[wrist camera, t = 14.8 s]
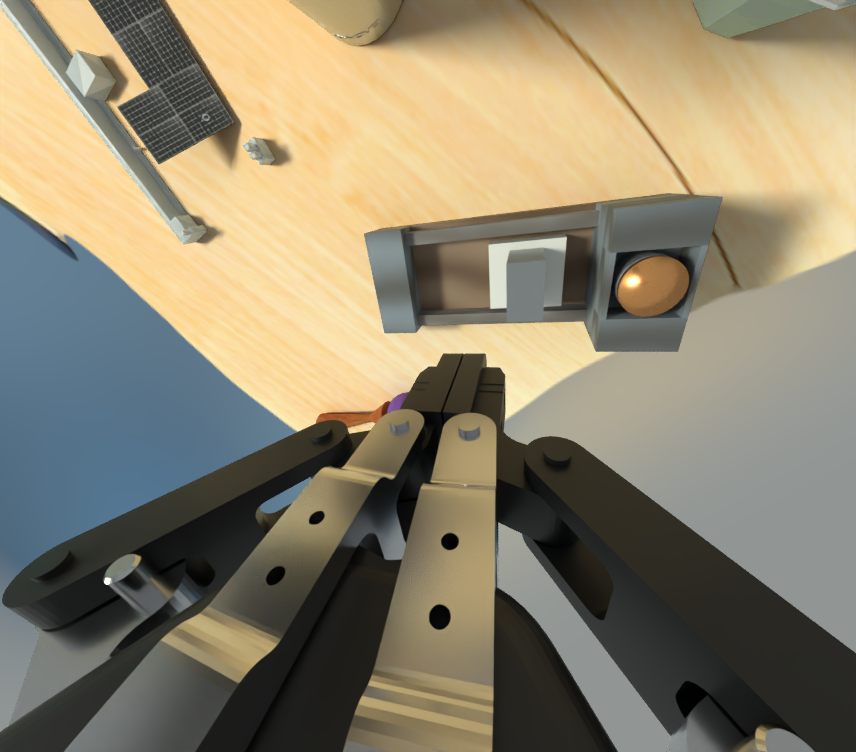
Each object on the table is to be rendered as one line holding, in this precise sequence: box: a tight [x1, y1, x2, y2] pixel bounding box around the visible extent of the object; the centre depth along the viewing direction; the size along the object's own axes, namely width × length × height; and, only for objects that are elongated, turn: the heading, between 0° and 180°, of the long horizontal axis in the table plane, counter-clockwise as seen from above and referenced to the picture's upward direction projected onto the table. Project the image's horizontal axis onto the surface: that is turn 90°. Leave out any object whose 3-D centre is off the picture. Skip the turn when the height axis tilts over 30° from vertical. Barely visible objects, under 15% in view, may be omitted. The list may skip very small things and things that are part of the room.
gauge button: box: [611, 250, 689, 317], centre depth 25 cm, size 4×4×4 cm
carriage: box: [489, 234, 567, 322], centre depth 29 cm, size 6×7×8 cm
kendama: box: [316, 392, 409, 427], centre depth 49 cm, size 6×6×20 cm
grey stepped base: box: [364, 193, 722, 352], centre depth 31 cm, size 11×28×10 cm, turn 97°
